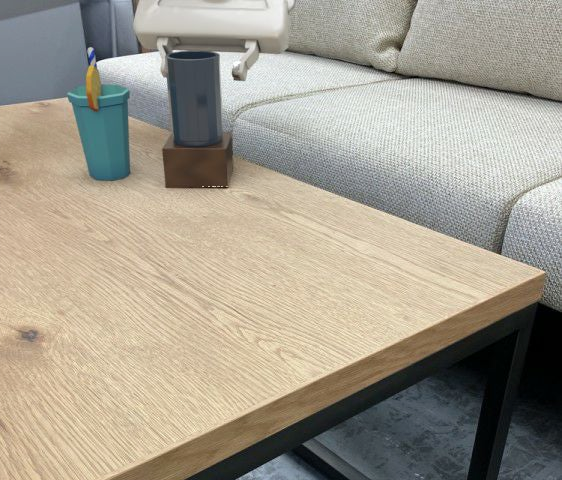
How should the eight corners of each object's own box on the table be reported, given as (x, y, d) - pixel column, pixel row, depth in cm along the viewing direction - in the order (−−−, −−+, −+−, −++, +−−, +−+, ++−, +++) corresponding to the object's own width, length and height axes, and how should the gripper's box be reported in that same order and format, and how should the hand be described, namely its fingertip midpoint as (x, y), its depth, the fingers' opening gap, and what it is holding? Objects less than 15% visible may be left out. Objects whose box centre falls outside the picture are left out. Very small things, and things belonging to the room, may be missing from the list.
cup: (77, 160, 99) (58, 44, 91) (132, 155, 101) (118, 41, 93) (83, 191, 88) (62, 63, 80) (145, 185, 90) (130, 59, 82)
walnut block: (165, 187, 90) (161, 148, 87) (175, 168, 96) (172, 131, 93) (227, 188, 89) (226, 148, 87) (233, 168, 96) (231, 131, 93)
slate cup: (168, 146, 87) (160, 59, 82) (176, 132, 93) (169, 50, 87) (220, 146, 87) (216, 60, 82) (225, 132, 93) (221, 50, 87)
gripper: (302, 0, 92) (286, 95, 90) (156, -3, 96) (137, 88, 94) (295, -37, 86) (278, 64, 84) (140, -38, 90) (119, 57, 88)
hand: (202, 76), depth 89 cm, fingers open, 8 cm apart
